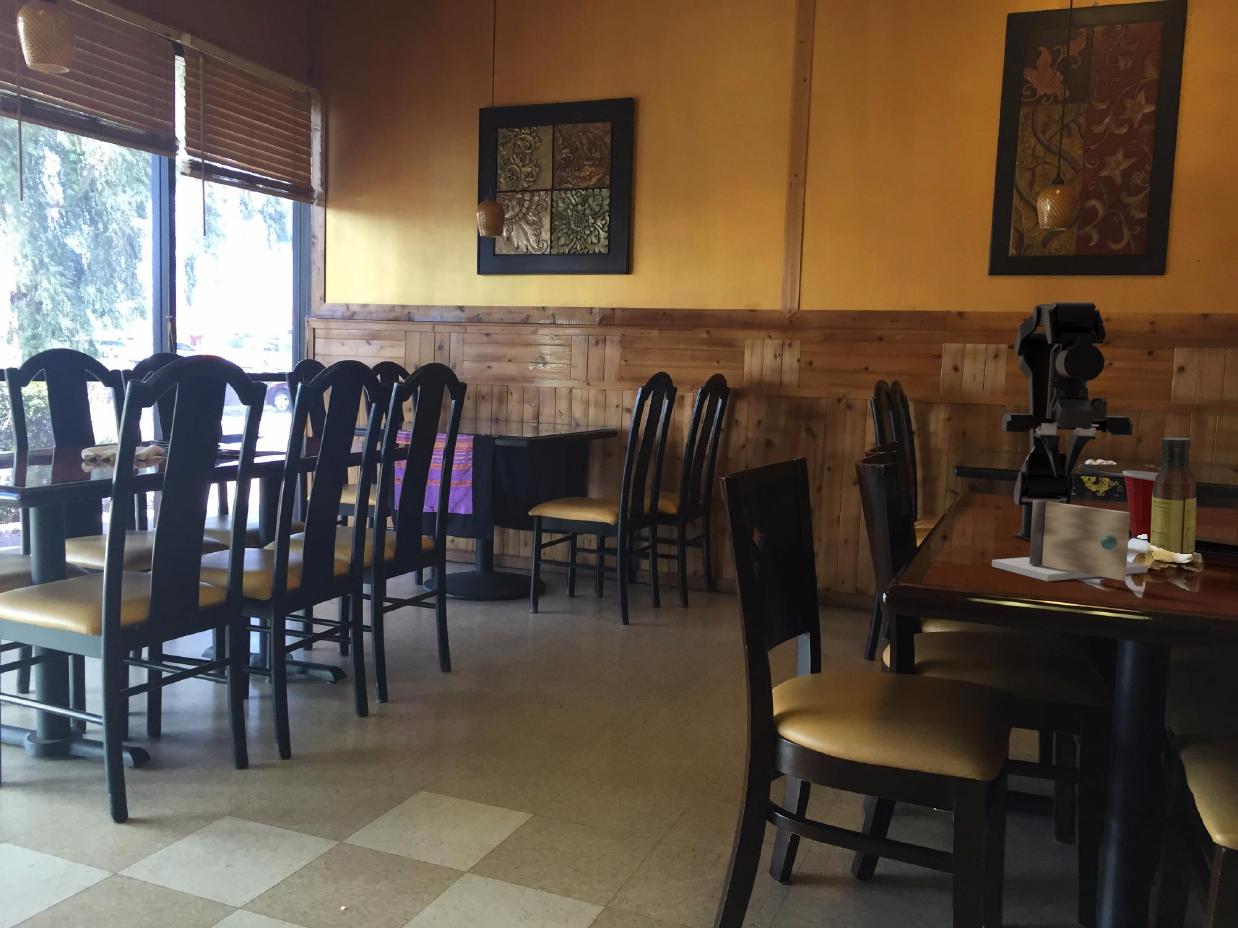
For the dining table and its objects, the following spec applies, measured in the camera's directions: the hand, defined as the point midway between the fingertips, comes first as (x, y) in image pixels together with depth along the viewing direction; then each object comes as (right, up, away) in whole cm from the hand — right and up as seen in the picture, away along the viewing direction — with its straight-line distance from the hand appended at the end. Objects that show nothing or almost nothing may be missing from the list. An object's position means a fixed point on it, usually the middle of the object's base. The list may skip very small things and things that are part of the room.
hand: (1062, 477), depth 160 cm
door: (-6, -13, -17) cm, 23 cm away
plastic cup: (+25, -12, +20) cm, 34 cm away
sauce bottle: (+17, -14, -2) cm, 22 cm away
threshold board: (-3, -14, -9) cm, 17 cm away
